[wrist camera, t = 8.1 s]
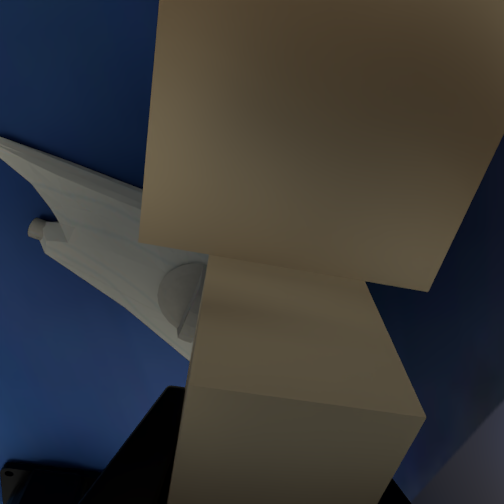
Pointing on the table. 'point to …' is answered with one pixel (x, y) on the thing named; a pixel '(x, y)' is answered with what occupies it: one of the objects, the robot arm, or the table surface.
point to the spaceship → (112, 243)
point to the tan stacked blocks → (311, 223)
